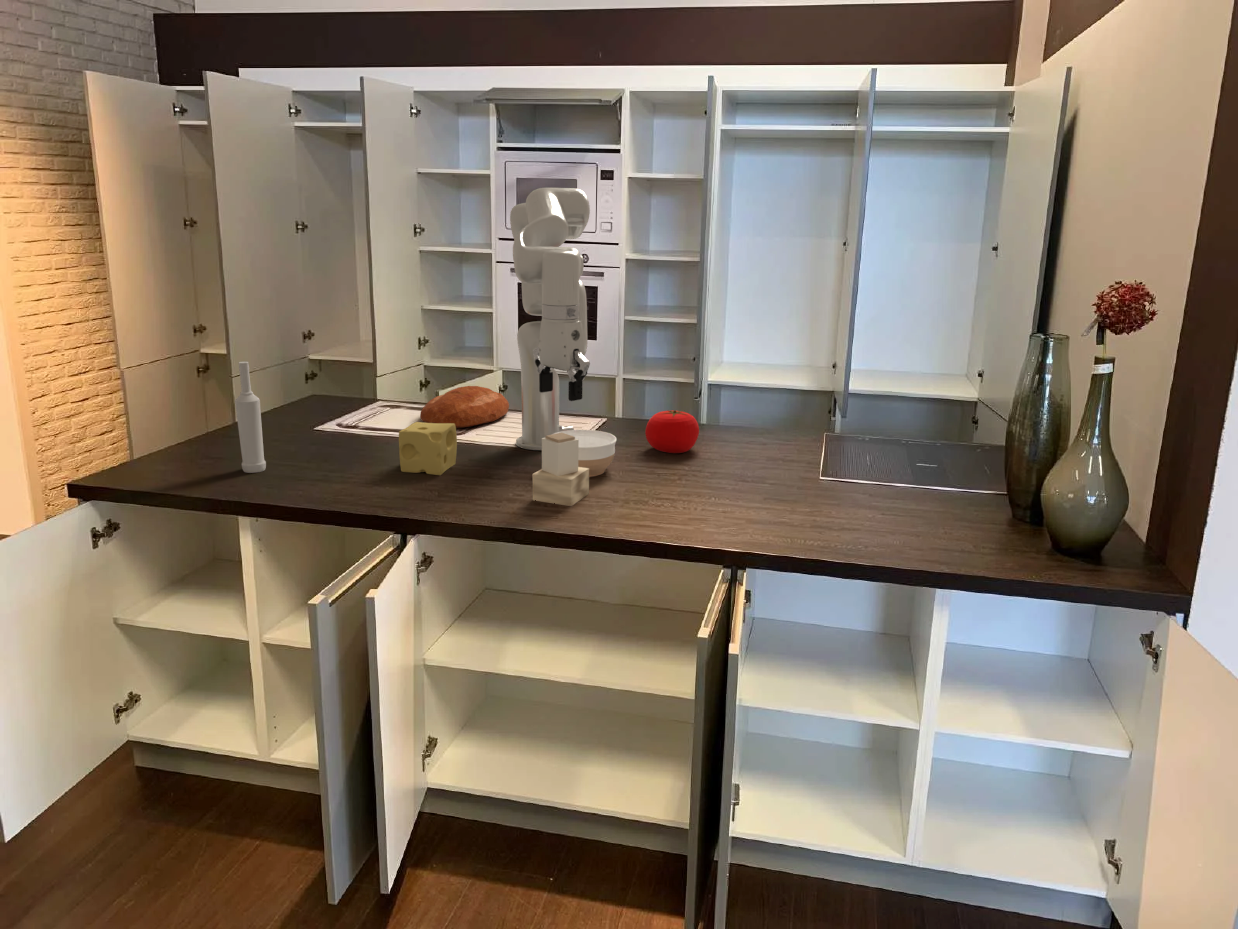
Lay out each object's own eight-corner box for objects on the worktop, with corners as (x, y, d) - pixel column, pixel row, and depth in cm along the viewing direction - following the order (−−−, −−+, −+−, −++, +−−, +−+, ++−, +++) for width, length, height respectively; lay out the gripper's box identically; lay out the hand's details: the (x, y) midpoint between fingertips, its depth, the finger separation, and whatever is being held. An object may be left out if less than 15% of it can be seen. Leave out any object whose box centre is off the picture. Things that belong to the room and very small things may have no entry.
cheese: (441, 476, 206) (439, 433, 203) (397, 472, 208) (395, 430, 205) (458, 463, 216) (456, 422, 213) (416, 460, 218) (414, 419, 215)
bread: (403, 427, 248) (401, 396, 245) (454, 403, 277) (453, 375, 275) (479, 435, 242) (478, 402, 240) (523, 409, 272) (522, 380, 269)
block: (551, 489, 199) (551, 463, 198) (588, 494, 196) (589, 468, 194) (532, 501, 191) (532, 474, 190) (571, 507, 188) (571, 479, 186)
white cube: (562, 465, 196) (562, 431, 194) (578, 471, 192) (578, 436, 190) (541, 470, 192) (541, 435, 190) (557, 476, 189) (558, 441, 186)
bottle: (271, 468, 209) (261, 361, 202) (254, 474, 204) (242, 365, 197) (254, 465, 211) (243, 359, 204) (237, 471, 207) (225, 362, 199)
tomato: (669, 461, 221) (671, 419, 218) (634, 449, 231) (635, 409, 228) (709, 451, 231) (711, 411, 228) (674, 440, 240) (675, 402, 237)
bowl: (584, 457, 223) (584, 425, 221) (630, 471, 213) (631, 438, 210) (534, 469, 213) (533, 436, 210) (579, 485, 202) (579, 451, 199)
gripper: (602, 316, 179) (601, 400, 184) (549, 307, 191) (549, 386, 196) (573, 319, 174) (572, 406, 179) (520, 309, 186) (521, 390, 191)
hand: (560, 395), depth 188 cm, fingers open, 9 cm apart
